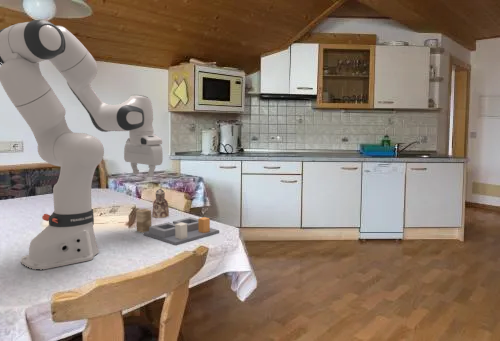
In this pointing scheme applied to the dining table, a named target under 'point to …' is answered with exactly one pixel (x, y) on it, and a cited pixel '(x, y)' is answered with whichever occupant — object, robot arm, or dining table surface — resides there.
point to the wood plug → (143, 220)
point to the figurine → (160, 205)
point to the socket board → (189, 234)
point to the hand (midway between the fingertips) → (143, 175)
